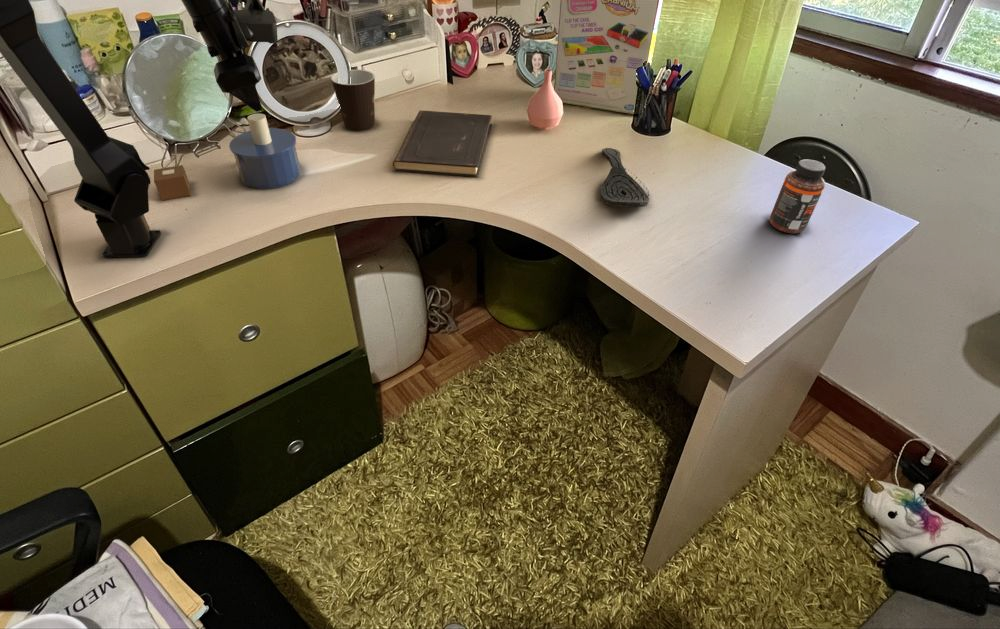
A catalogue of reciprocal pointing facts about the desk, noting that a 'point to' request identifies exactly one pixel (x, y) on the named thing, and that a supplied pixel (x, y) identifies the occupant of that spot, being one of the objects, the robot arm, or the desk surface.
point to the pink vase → (545, 105)
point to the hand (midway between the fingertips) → (255, 95)
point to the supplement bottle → (798, 197)
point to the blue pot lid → (262, 140)
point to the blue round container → (269, 170)
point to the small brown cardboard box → (172, 182)
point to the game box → (604, 51)
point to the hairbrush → (621, 184)
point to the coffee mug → (356, 99)
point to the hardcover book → (444, 144)
